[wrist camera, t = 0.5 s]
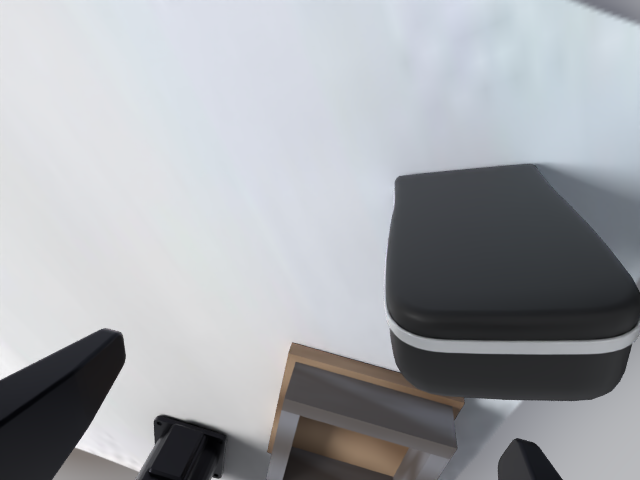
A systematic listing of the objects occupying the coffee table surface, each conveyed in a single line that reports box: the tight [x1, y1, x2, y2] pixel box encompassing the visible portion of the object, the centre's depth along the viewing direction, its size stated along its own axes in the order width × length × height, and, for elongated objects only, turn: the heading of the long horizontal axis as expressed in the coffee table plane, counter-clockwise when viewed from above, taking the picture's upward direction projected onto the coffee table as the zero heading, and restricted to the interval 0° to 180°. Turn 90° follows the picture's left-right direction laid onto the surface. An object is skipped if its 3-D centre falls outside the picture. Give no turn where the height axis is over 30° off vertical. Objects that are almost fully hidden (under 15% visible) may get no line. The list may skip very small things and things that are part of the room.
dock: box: [266, 343, 465, 480], centre depth 29 cm, size 12×12×4 cm
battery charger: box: [384, 164, 640, 401], centre depth 16 cm, size 7×4×11 cm, turn 99°
